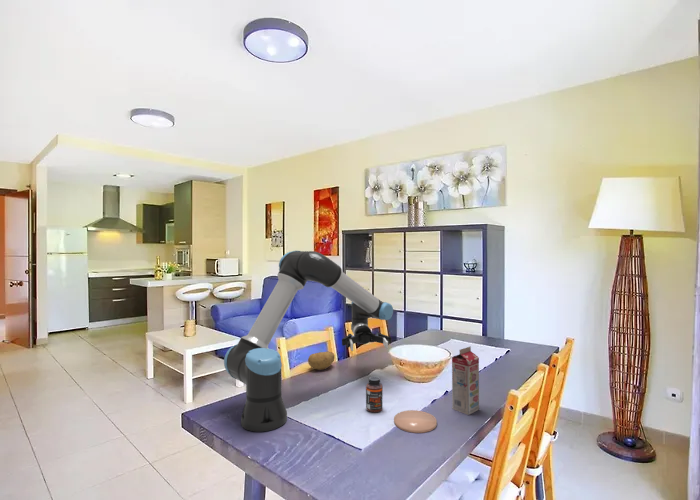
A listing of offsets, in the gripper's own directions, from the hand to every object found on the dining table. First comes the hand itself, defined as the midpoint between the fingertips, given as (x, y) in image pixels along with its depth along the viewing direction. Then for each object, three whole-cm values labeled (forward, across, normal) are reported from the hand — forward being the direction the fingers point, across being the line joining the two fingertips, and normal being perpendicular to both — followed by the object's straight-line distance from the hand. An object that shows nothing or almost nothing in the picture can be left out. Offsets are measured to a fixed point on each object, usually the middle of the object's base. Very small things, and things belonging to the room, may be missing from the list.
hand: (369, 346), depth 145 cm
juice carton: (+14, -32, -20) cm, 41 cm away
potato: (-37, +18, -20) cm, 46 cm away
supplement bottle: (+10, 0, -20) cm, 23 cm away
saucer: (+21, -12, -20) cm, 32 cm away
